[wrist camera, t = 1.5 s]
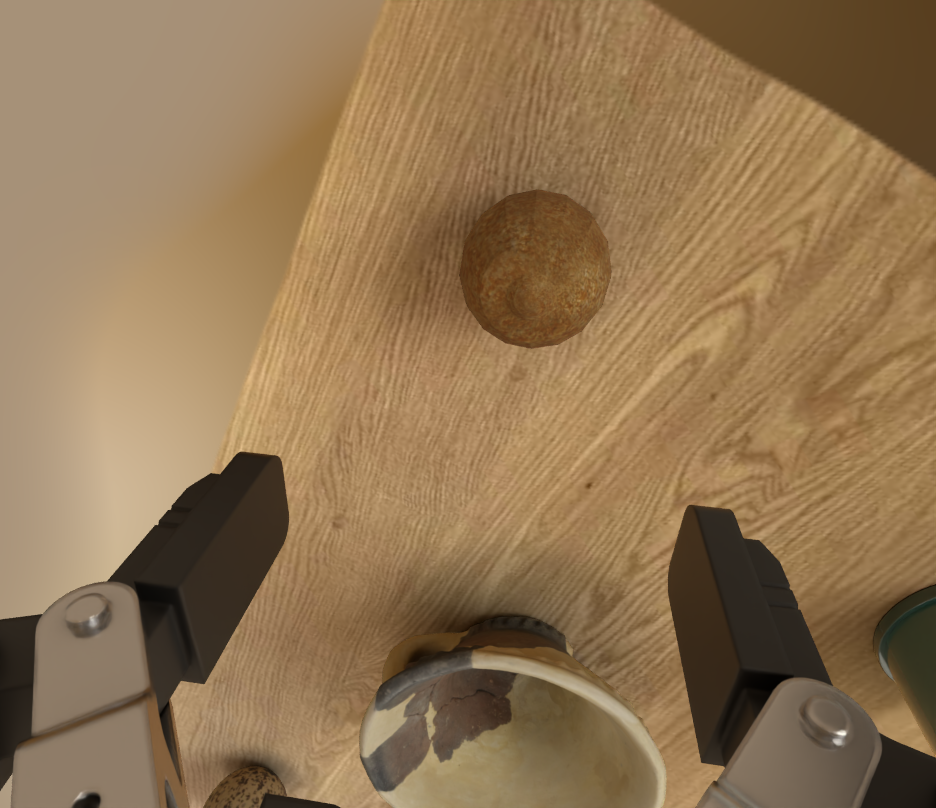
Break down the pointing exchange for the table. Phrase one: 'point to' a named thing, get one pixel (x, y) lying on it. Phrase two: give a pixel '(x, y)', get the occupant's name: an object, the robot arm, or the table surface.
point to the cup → (912, 656)
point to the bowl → (504, 726)
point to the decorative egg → (245, 789)
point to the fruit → (535, 269)
